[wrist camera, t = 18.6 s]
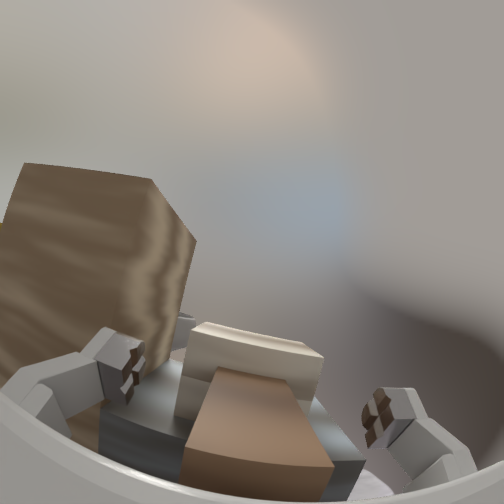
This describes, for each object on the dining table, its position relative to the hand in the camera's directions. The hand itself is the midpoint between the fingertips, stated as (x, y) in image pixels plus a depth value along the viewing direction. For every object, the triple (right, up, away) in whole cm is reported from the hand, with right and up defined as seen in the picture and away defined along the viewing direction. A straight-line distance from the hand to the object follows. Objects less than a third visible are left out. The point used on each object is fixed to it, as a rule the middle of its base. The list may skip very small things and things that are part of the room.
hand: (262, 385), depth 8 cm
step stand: (-9, -19, +6) cm, 22 cm away
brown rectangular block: (-1, -5, +4) cm, 6 cm away
